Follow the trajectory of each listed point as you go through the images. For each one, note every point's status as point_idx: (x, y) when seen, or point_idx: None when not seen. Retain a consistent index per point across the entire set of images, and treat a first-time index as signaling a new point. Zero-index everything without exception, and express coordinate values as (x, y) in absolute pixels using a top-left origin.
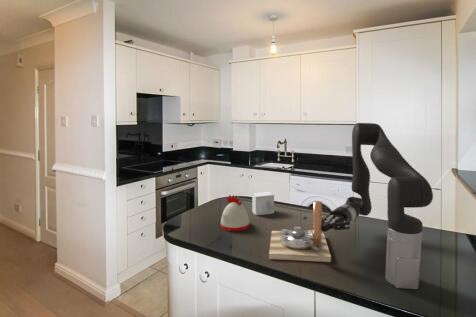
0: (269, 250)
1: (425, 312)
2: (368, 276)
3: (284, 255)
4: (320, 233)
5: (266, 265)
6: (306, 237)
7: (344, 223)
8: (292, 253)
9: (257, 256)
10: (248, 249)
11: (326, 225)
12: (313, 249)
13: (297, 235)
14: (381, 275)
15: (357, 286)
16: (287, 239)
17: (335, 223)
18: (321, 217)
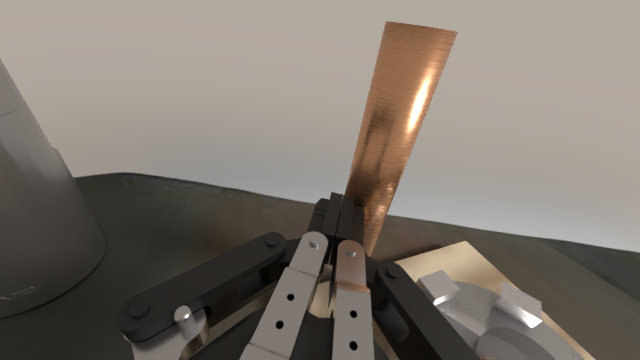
0: (485, 259)
1: (93, 175)
2: (160, 257)
3: (429, 253)
4: None
5: (433, 223)
6: None
7: (196, 270)
8: (417, 265)
9: (492, 253)
10: (558, 283)
11: (329, 203)
12: (374, 335)
13: (489, 331)
14: (103, 277)
15: (212, 208)
16: (495, 300)
17: (277, 236)
18: (359, 133)
